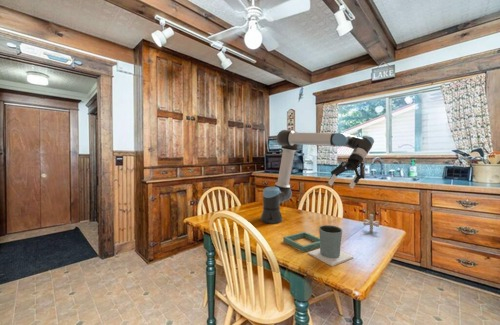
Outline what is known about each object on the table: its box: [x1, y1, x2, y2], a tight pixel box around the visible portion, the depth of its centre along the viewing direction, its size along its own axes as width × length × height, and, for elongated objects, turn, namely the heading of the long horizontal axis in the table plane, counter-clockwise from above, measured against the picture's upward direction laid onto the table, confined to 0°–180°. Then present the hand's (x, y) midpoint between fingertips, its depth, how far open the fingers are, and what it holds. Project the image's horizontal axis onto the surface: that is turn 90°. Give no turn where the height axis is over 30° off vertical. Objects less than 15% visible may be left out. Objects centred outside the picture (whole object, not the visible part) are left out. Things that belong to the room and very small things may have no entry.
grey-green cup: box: [318, 224, 343, 258], centre depth 104 cm, size 10×10×12 cm
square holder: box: [282, 231, 320, 253], centre depth 119 cm, size 15×15×2 cm
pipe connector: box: [362, 214, 380, 232], centre depth 135 cm, size 10×10×10 cm
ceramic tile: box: [307, 247, 354, 267], centre depth 104 cm, size 14×14×1 cm
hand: (339, 185), depth 123 cm, fingers open, 13 cm apart
